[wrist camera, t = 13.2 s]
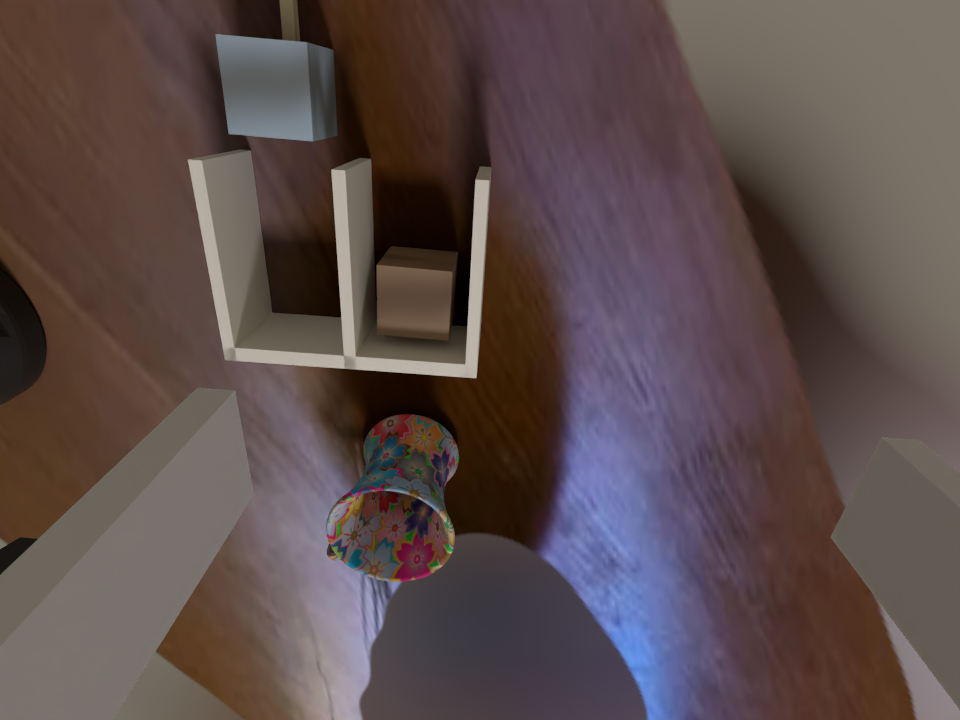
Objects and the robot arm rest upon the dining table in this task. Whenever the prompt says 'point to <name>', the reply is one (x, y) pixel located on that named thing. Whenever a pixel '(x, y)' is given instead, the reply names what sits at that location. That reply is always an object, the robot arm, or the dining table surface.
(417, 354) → the lane rack
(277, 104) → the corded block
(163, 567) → the robot arm
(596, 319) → the dining table surface
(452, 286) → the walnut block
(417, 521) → the mug
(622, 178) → the dining table surface
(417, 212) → the dining table surface
